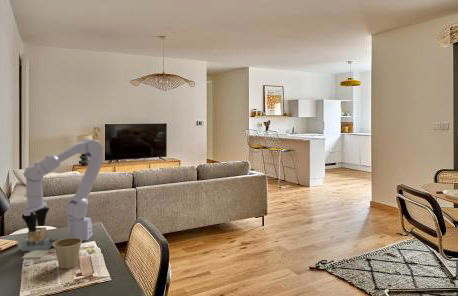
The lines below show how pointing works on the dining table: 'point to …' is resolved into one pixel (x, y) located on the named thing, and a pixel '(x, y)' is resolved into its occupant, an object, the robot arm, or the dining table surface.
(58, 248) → the flower pot
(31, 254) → the mat
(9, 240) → the dining table surface
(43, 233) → the collar
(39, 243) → the vise
